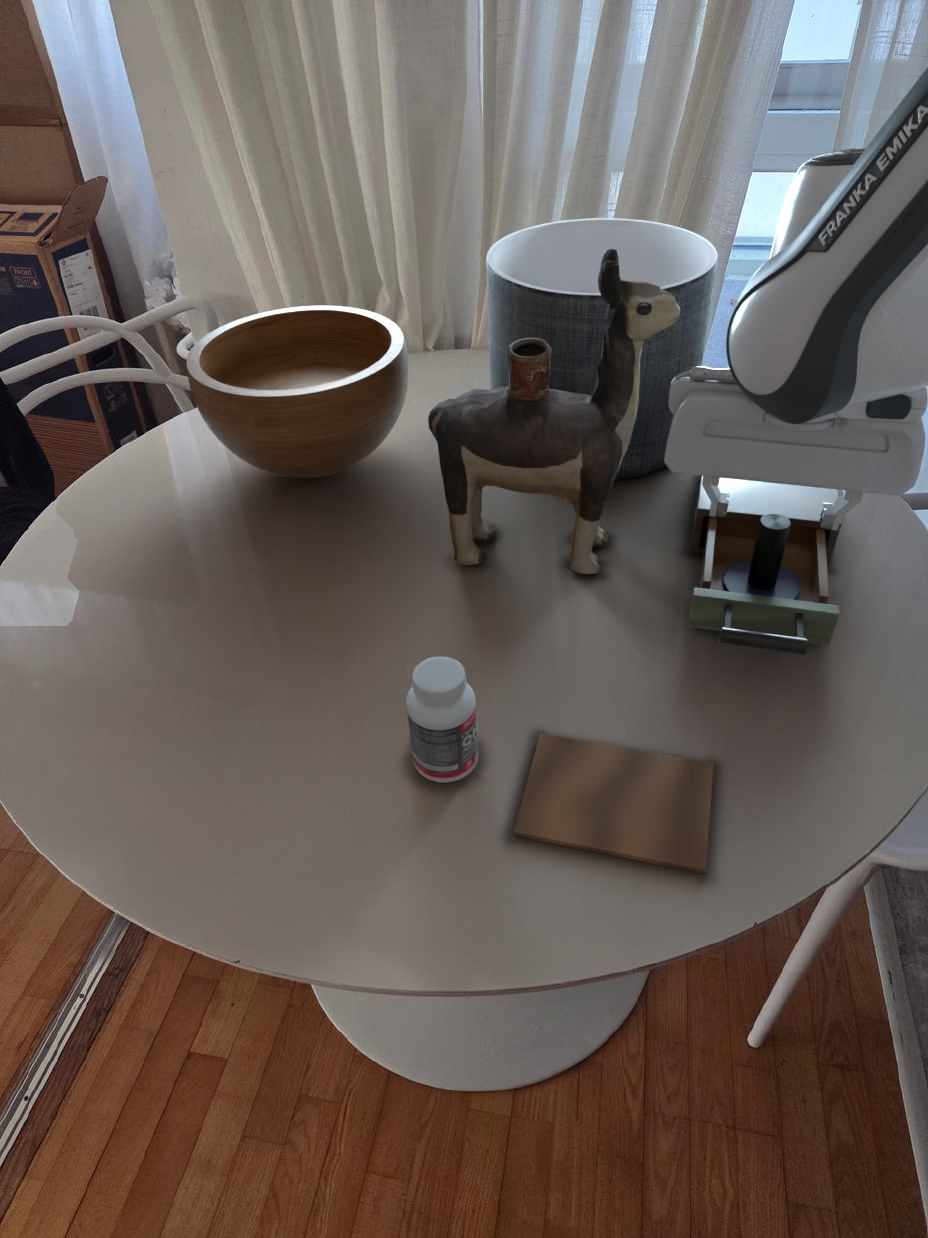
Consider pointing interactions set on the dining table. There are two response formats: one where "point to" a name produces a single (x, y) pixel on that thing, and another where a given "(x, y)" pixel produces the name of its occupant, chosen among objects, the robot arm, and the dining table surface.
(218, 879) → the dining table surface
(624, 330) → the figurine
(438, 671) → the pill bottle
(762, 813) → the dining table surface
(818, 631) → the drawer
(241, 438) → the bowl
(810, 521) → the cabinet
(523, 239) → the planter
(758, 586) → the lid
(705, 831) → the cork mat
